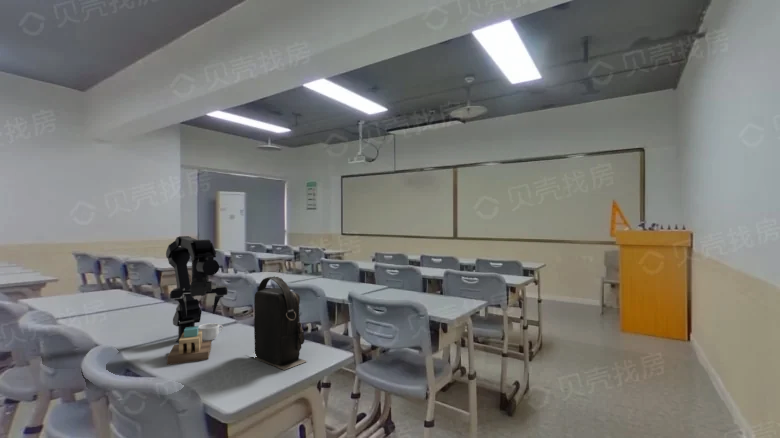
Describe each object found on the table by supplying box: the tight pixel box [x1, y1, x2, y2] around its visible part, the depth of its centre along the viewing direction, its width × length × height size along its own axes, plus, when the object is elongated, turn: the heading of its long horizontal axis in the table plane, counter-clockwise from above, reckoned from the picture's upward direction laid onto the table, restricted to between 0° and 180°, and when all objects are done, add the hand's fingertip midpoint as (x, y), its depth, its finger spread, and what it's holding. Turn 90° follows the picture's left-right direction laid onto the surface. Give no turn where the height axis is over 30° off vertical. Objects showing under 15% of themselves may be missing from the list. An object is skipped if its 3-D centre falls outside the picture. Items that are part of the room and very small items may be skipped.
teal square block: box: [184, 325, 200, 338], centre depth 126 cm, size 4×4×2 cm
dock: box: [166, 340, 212, 365], centre depth 125 cm, size 13×12×2 cm
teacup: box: [198, 322, 224, 342], centre depth 144 cm, size 10×8×5 cm
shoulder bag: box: [253, 276, 308, 371], centre depth 123 cm, size 23×9×28 cm, turn 53°
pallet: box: [178, 331, 203, 354], centre depth 126 cm, size 10×6×4 cm, turn 22°
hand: (200, 314), depth 134 cm, fingers open, 9 cm apart
